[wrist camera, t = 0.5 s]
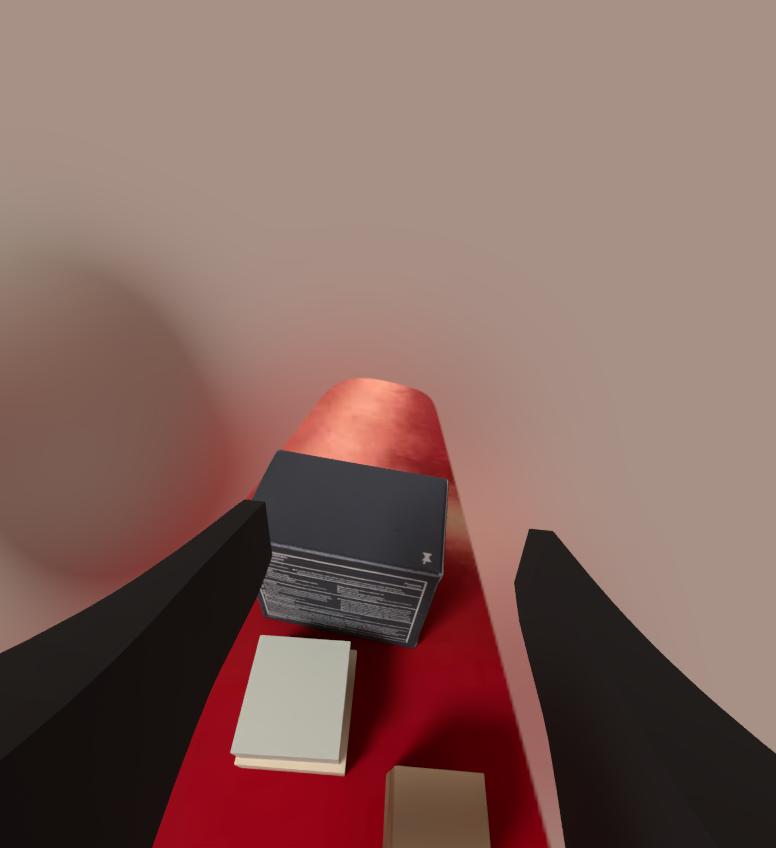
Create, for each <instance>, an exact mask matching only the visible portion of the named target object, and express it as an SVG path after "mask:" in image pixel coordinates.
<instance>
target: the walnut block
mask: <svg viewBox="0 0 776 848" xmlns="http://www.w3.org/2000/svg"><path fill="white" fill-rule="evenodd" d="M383 848H491V847H490V836H489V825H488V813H487V802H486V791H485V779H484V773H474V772H463V771H451V770H440V769H429V768H417V767H406V766H394V767H393V768H392V769H391V770H390V771H389V772H388V773H387V774H386V792H385V813H384V834H383Z"/></svg>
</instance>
